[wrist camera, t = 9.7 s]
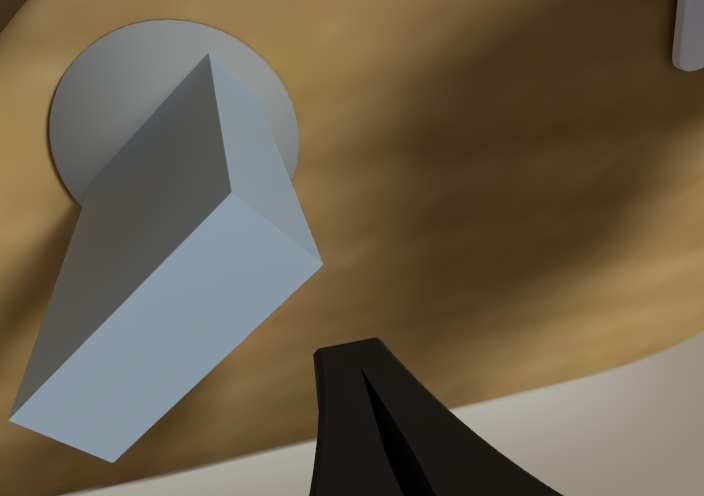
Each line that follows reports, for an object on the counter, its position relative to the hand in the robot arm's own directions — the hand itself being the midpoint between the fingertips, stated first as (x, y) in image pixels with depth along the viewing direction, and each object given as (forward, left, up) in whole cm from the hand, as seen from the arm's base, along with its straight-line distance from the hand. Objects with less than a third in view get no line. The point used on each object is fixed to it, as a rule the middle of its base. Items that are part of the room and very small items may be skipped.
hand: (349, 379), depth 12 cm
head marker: (+2, -4, -6) cm, 7 cm away
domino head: (+2, -4, -6) cm, 7 cm away
